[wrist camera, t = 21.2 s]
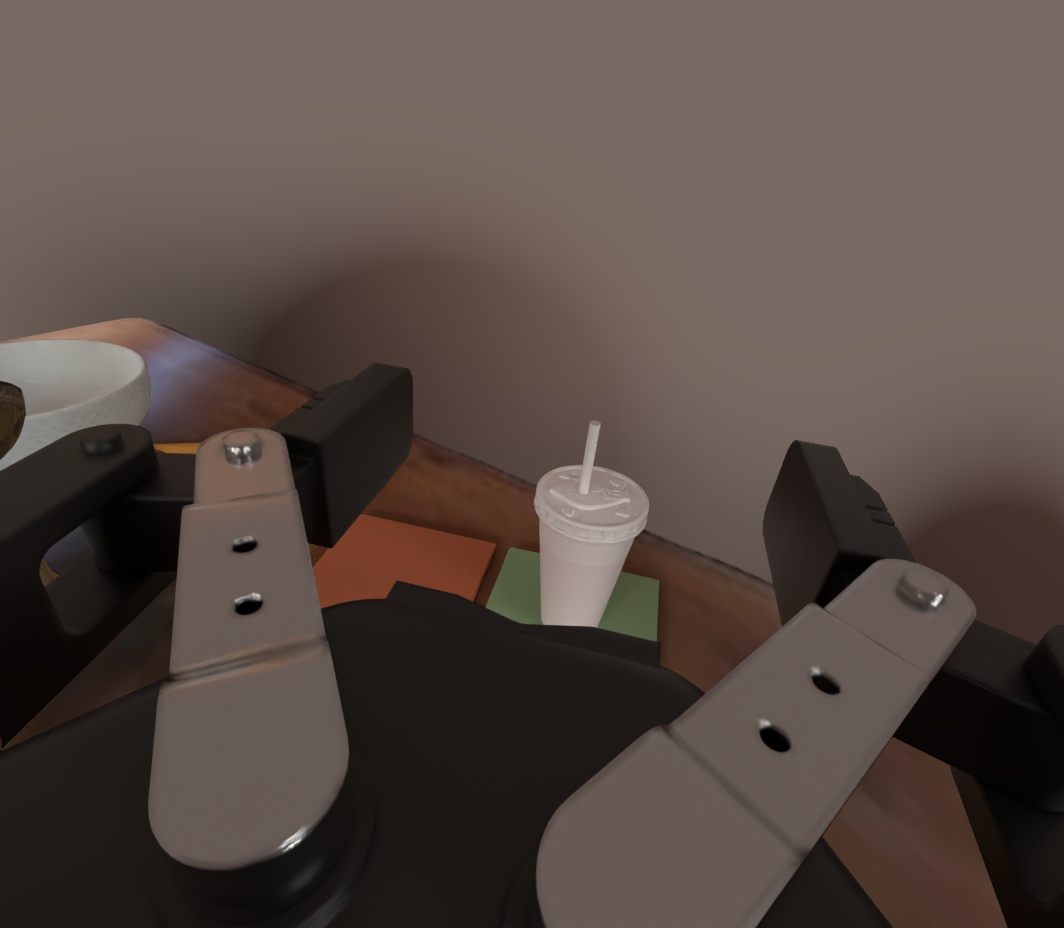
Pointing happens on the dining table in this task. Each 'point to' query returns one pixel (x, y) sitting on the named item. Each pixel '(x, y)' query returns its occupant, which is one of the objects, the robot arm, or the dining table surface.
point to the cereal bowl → (72, 388)
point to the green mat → (624, 612)
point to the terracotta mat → (399, 561)
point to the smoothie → (584, 536)
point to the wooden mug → (3, 424)
